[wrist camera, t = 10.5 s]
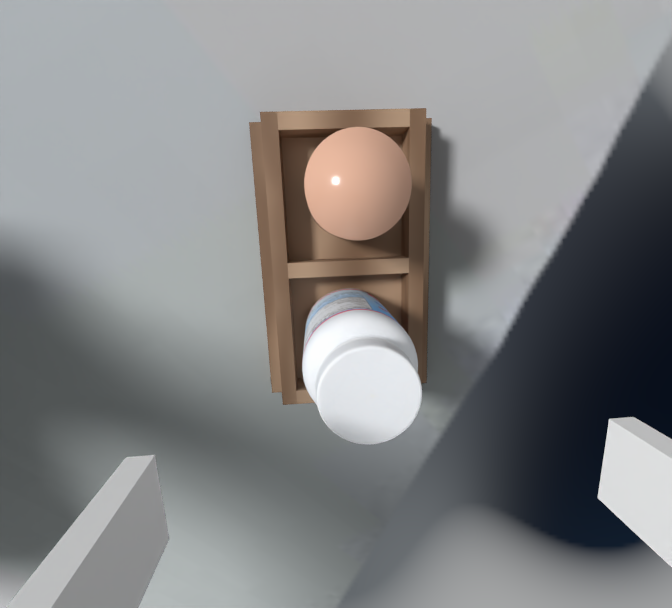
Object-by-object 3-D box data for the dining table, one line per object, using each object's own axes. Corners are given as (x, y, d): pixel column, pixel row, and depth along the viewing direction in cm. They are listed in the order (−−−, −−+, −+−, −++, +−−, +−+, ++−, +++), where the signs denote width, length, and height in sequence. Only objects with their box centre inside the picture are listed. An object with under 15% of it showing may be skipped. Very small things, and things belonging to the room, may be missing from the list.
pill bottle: (394, 352, 26) (452, 441, 15) (317, 373, 26) (319, 476, 15) (377, 276, 25) (426, 314, 14) (295, 297, 25) (281, 351, 14)
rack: (273, 386, 27) (268, 405, 25) (251, 126, 23) (242, 112, 20) (422, 377, 28) (435, 394, 25) (426, 122, 24) (442, 107, 21)
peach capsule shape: (309, 238, 24) (307, 242, 16) (305, 162, 23) (300, 128, 15) (380, 235, 24) (411, 238, 17) (379, 159, 23) (412, 125, 16)
